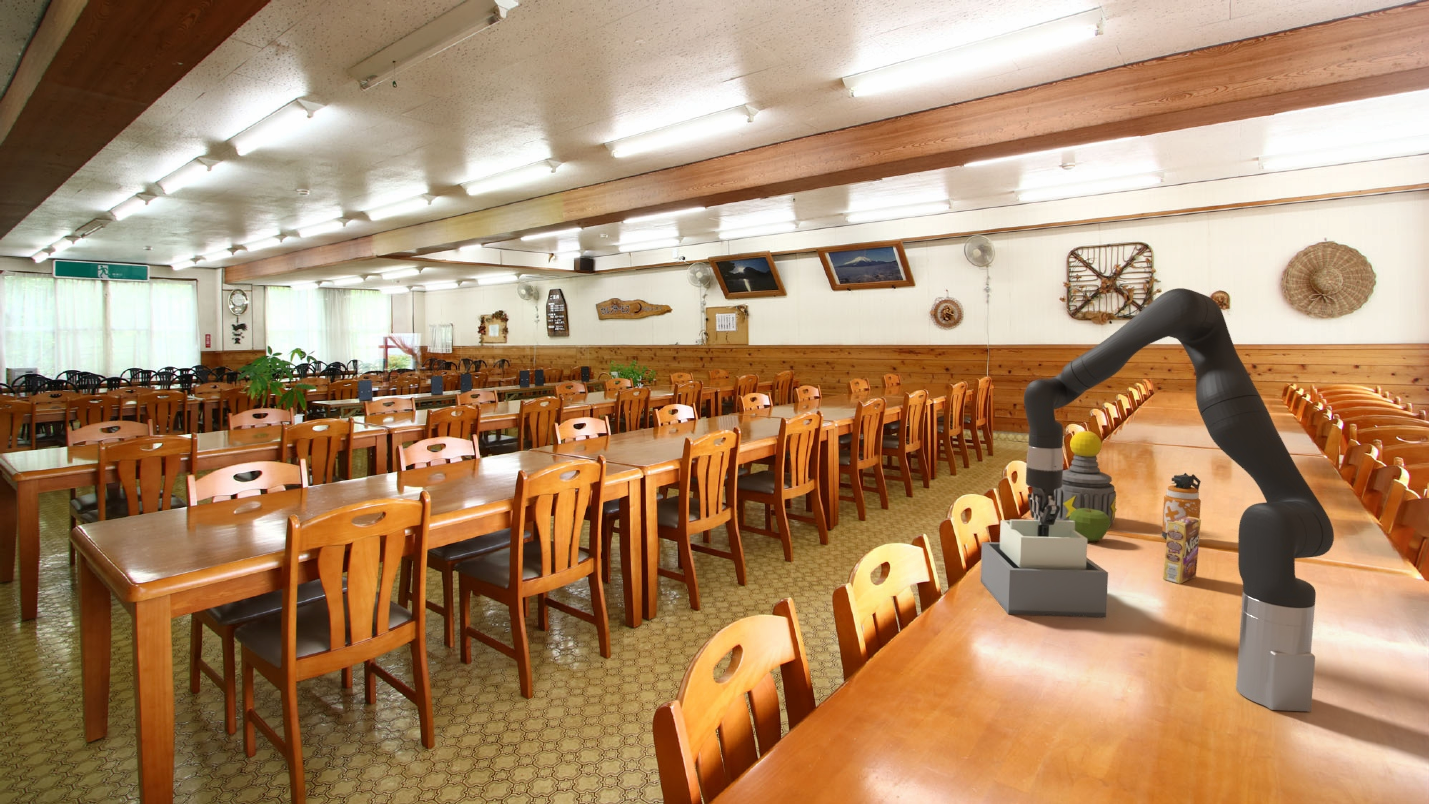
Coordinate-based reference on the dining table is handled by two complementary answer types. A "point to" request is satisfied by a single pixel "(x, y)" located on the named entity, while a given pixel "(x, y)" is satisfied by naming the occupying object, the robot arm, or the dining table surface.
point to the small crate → (1043, 545)
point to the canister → (1181, 500)
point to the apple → (1090, 523)
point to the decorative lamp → (1085, 480)
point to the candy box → (1181, 549)
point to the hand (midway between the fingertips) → (1041, 539)
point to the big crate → (1043, 587)
